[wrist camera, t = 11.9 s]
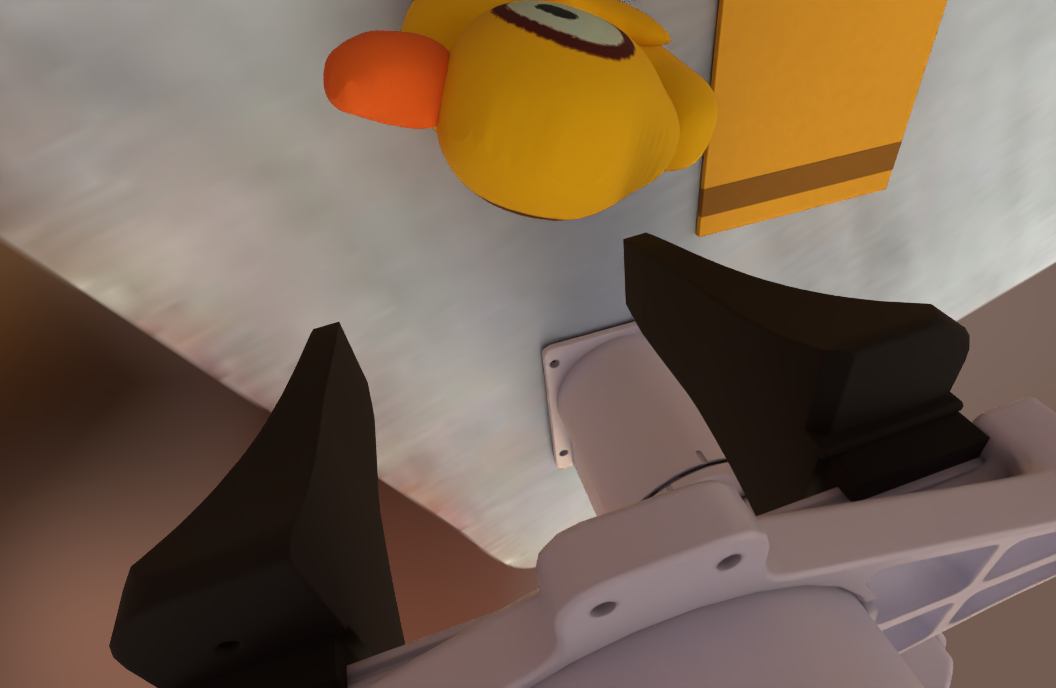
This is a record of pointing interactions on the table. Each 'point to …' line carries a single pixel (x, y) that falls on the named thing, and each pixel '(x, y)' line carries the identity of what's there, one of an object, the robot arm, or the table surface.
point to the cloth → (809, 102)
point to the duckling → (533, 98)
